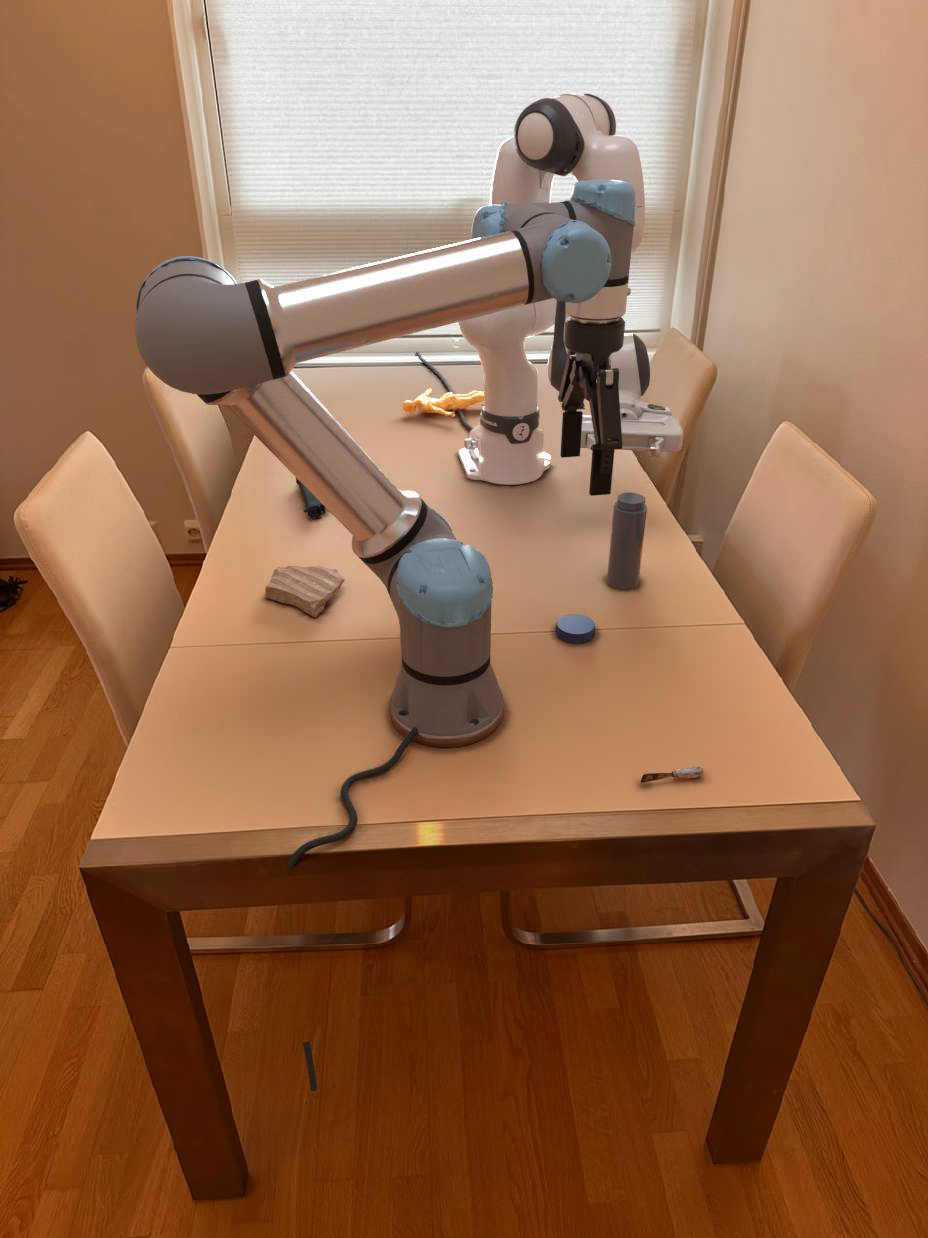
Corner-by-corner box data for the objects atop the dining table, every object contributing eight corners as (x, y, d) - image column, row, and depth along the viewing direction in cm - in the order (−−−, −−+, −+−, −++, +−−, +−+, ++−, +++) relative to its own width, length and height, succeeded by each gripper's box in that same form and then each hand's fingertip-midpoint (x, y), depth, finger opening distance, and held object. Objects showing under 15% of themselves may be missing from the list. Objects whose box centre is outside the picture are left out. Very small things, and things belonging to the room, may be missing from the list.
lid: (551, 640, 136) (552, 630, 135) (560, 620, 141) (560, 611, 140) (590, 646, 134) (591, 637, 134) (597, 626, 139) (598, 617, 138)
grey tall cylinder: (644, 580, 151) (654, 496, 143) (627, 592, 148) (637, 507, 140) (617, 570, 154) (625, 488, 146) (600, 582, 151) (608, 498, 143)
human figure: (395, 413, 223) (394, 398, 221) (438, 390, 237) (438, 375, 235) (462, 429, 215) (462, 413, 213) (502, 404, 229) (503, 388, 227)
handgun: (366, 513, 175) (304, 520, 172) (351, 478, 189) (294, 484, 186) (365, 498, 173) (303, 505, 170) (350, 463, 187) (293, 470, 184)
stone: (354, 583, 150) (352, 570, 149) (317, 618, 141) (316, 605, 140) (288, 570, 155) (286, 557, 153) (249, 603, 145) (246, 590, 144)
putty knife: (703, 777, 109) (705, 767, 109) (642, 788, 108) (644, 777, 107) (700, 772, 110) (702, 762, 109) (639, 782, 109) (640, 771, 108)
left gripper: (660, 340, 103) (642, 509, 114) (593, 293, 123) (583, 440, 135) (598, 344, 101) (585, 514, 113) (540, 296, 122) (535, 443, 133)
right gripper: (565, 402, 162) (566, 430, 151) (679, 408, 161) (689, 436, 149) (563, 435, 166) (563, 465, 154) (674, 441, 164) (683, 471, 153)
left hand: (584, 474), depth 124 cm, fingers open, 13 cm apart
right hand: (626, 451), depth 152 cm, fingers open, 8 cm apart
